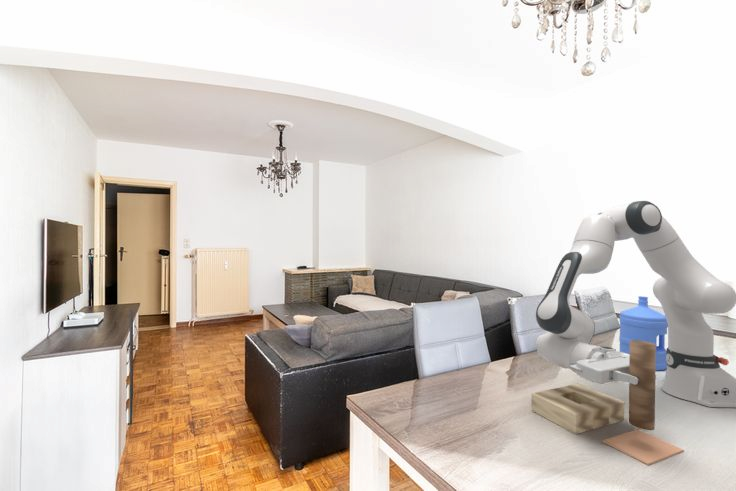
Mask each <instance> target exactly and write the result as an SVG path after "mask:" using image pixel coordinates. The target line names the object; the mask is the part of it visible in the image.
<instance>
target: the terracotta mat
mask: <svg viewBox="0 0 736 491" xmlns="http://www.w3.org/2000/svg"><path fill="white" fill-rule="evenodd" d="M602 443H604V444H606V445H607V446H610V447H611V448H614V449H616V450H618V451H619V452H621V453H623V454H625V455H627V456H628V457H629V456H630V458H633V459H634V460H637V461H639V462H640V463H642V464H644V465H646V466H650V465H653V464H656V463H658V462H661V461H663V460H666V459H668V458H671V457H673V456H676V455H679V454H681V453H684V451H685V450H684V449H682V448H680V447H679V446H675V445H674V444H671V443H669V442H667V441H665V440H663V439H661V438H658V437H656V436H654V435H651V434H649V433H647V432H645V431H644V430H643V431H642V430H641V429H639V428H637V429H634V430H631V431H628V432H624V433H621V434H619V435H615V436H612V437H609V438H606V439H604V440H602Z"/></svg>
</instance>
